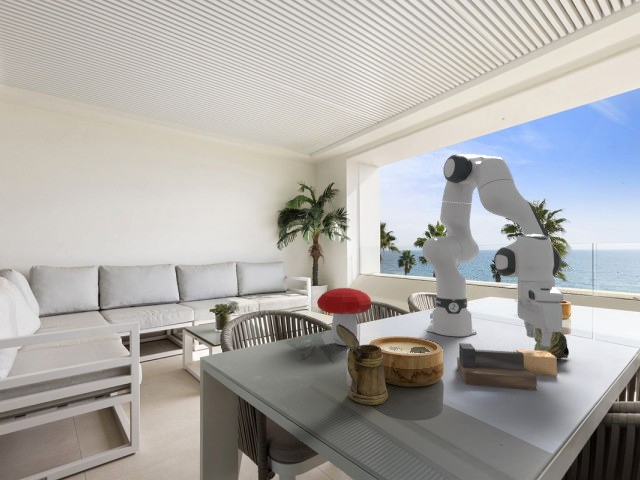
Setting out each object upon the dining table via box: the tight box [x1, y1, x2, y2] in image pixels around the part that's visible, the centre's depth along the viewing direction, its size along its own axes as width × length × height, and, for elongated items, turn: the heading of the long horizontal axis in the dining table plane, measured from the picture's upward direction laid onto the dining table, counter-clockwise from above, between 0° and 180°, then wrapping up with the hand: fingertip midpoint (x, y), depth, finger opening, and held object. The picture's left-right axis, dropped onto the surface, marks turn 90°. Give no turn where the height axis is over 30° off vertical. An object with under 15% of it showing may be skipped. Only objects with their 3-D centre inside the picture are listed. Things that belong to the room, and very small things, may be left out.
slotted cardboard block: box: [515, 349, 558, 377], centre depth 94 cm, size 6×8×5 cm
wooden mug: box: [336, 324, 389, 406], centre depth 76 cm, size 9×14×18 cm, turn 127°
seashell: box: [533, 327, 570, 360], centre depth 103 cm, size 11×11×10 cm
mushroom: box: [316, 287, 372, 346], centre depth 120 cm, size 20×19×20 cm
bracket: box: [456, 342, 538, 391], centre depth 89 cm, size 12×16×8 cm
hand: (537, 341), depth 93 cm, fingers open, 8 cm apart
